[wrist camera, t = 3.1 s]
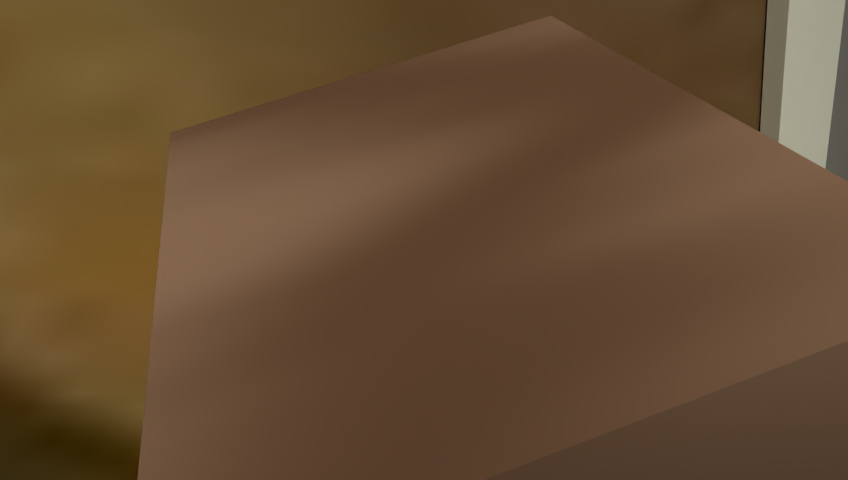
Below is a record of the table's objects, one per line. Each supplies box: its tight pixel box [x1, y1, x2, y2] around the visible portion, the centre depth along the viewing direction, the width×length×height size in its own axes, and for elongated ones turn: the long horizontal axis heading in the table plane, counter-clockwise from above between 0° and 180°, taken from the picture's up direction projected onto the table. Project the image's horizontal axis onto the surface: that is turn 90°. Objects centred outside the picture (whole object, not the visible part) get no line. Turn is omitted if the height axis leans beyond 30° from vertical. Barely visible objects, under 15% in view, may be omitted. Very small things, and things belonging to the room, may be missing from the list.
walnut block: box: [138, 16, 848, 480], centre depth 7 cm, size 4×6×5 cm, turn 12°
